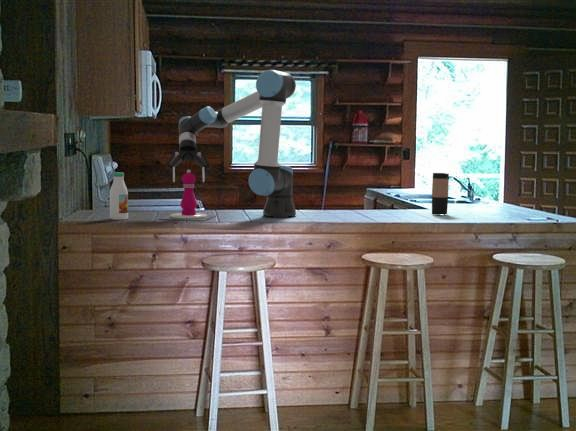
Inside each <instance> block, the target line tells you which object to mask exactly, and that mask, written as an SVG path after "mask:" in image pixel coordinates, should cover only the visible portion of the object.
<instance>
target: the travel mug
mask: <svg viewBox="0 0 576 431" xmlns="http://www.w3.org/2000/svg"><path fill="white" fill-rule="evenodd" d="M449 175H450V174H449V173H446V172H433V173H432V184H431V186H432V188H431V215H432V214H447V215H448V206H449V205H448V203H449V184H450V183H449V182H450V181H449V178H450V176H449Z"/></svg>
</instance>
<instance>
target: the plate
mask: <svg viewBox="0 0 576 431" xmlns="http://www.w3.org/2000/svg"><path fill="white" fill-rule="evenodd" d="M207 215H208V214H206V213H199V212H196V215H182V212H180V213H179V212H177V213H176V212H175V213H171V214H170V215H169V216H170V217H171V218H176V219H201V218H207Z"/></svg>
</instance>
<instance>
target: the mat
mask: <svg viewBox="0 0 576 431" xmlns="http://www.w3.org/2000/svg"><path fill="white" fill-rule="evenodd" d="M216 216H217V215H211V214H207V218H201V219H176V218H171V217H170V215H168V216H164V217H163V216H162V217H161V218H160V217H159V220H161V221H162V220H163V221H164V220H165V221H167V220H168V221H186V222H187V221H192V222H205V221H208V220H211V219H213V217H214V218H216Z"/></svg>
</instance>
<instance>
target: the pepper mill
mask: <svg viewBox="0 0 576 431" xmlns="http://www.w3.org/2000/svg"><path fill="white" fill-rule="evenodd" d="M181 181H182V182H183V184H182V185H183V186H182V187H183V195H182V198H181V201H180V205H179V206H180V208H181V209H182V210H181V213H182V215H196V213H197V211H196V210H195V209H196V208H197V207H198V202H197V200H196V197H195V193H194V189H195V182H196V175H195V174H194V173H192V171H191V169H188V168H187V170H186V173H184V174H183V175H182V177H181Z"/></svg>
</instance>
